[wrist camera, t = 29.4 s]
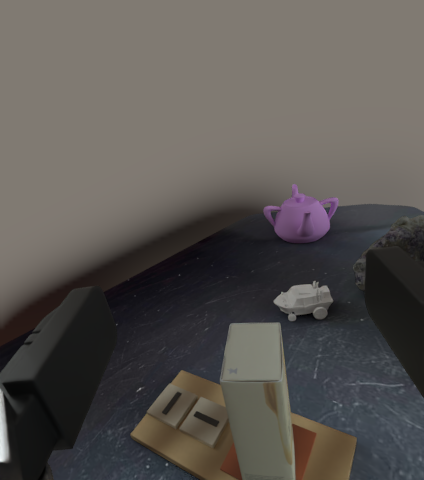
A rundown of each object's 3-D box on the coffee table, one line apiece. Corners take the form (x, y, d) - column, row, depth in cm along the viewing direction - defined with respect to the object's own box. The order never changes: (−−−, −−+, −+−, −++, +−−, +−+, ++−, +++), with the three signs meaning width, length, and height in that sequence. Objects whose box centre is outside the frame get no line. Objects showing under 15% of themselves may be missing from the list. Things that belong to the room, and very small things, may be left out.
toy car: (336, 317, 44) (335, 293, 42) (277, 324, 45) (275, 300, 43) (326, 297, 48) (325, 274, 47) (273, 304, 49) (270, 281, 47)
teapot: (296, 218, 77) (294, 182, 74) (348, 231, 67) (348, 190, 63) (260, 236, 72) (256, 199, 68) (311, 253, 61) (308, 210, 57)
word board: (132, 439, 33) (128, 430, 33) (182, 374, 40) (180, 366, 39) (332, 559, 22) (332, 549, 22) (356, 442, 29) (356, 433, 28)
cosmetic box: (297, 495, 25) (284, 386, 20) (242, 490, 26) (217, 385, 21) (292, 419, 31) (281, 319, 26) (248, 417, 32) (229, 320, 27)
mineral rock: (357, 301, 46) (357, 239, 42) (338, 264, 56) (337, 211, 52) (456, 294, 44) (467, 227, 40) (419, 256, 54) (424, 200, 50)
